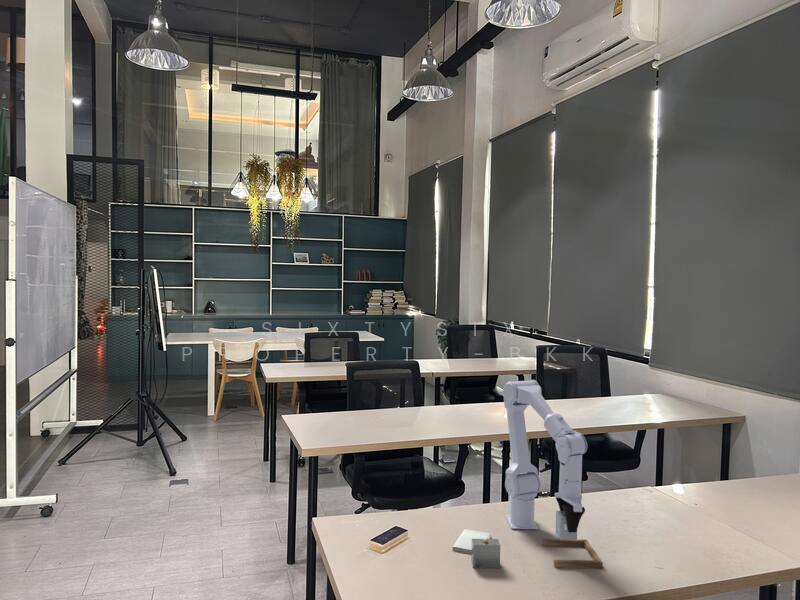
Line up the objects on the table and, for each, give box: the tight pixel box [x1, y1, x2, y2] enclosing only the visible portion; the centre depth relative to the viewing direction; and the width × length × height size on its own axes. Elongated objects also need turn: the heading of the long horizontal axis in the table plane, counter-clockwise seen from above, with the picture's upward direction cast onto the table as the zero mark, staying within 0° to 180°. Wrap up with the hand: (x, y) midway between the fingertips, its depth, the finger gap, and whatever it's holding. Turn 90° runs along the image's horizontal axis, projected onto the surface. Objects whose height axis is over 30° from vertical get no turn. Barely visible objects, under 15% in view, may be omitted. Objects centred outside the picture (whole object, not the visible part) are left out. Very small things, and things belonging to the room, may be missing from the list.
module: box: [555, 510, 578, 540], centre depth 154 cm, size 5×4×6 cm
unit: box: [470, 538, 501, 569], centre depth 149 cm, size 4×7×7 cm, turn 90°
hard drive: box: [452, 528, 492, 555], centre depth 161 cm, size 2×8×12 cm
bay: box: [541, 538, 604, 569], centre depth 154 cm, size 13×12×2 cm
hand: (569, 527), depth 154 cm, fingers closed on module, 5 cm apart
